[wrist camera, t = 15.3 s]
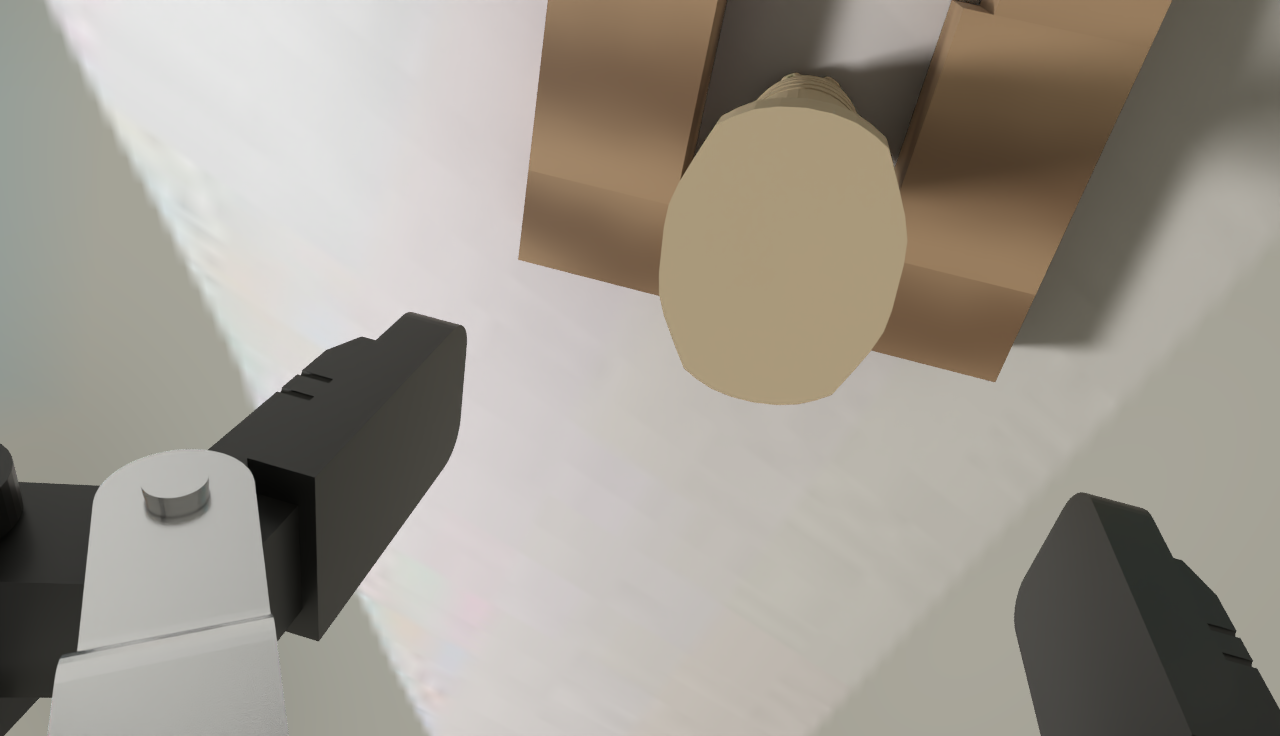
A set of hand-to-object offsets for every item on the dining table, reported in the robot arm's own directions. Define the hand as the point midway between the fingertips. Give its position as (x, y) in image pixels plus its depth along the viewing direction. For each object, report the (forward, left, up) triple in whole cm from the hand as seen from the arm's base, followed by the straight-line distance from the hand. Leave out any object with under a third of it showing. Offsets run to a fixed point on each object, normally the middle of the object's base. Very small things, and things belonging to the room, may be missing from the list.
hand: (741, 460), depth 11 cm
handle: (0, 0, -22) cm, 22 cm away
